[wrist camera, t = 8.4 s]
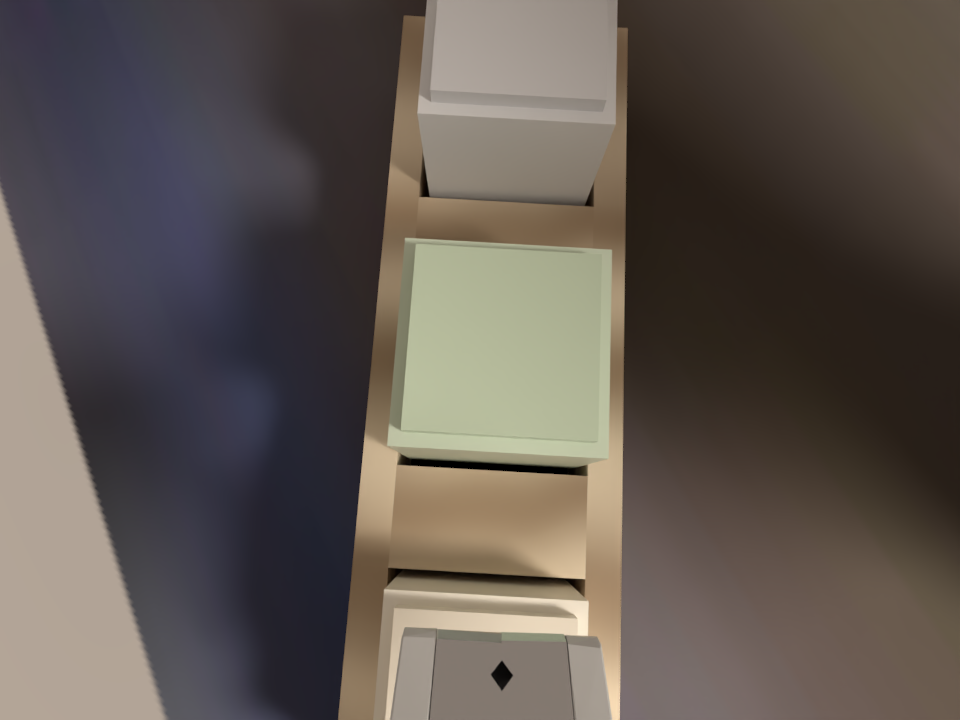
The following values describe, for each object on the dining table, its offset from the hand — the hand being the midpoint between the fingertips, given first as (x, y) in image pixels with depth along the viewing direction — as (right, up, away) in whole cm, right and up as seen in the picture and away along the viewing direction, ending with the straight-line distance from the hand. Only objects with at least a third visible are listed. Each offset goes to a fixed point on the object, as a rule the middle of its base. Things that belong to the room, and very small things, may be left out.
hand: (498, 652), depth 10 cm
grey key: (+1, +13, +16) cm, 21 cm away
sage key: (0, +4, +14) cm, 15 cm away
